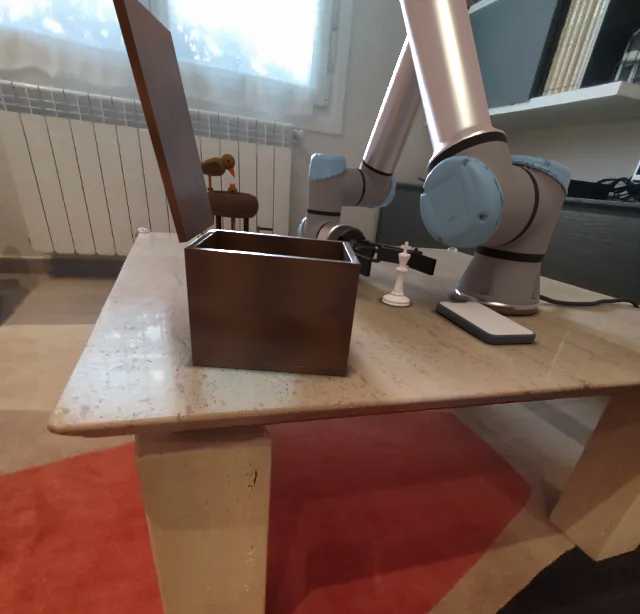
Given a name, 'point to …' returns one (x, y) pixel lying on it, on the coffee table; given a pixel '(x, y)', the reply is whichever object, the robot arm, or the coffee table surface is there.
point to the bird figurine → (229, 196)
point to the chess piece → (399, 281)
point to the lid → (166, 116)
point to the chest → (271, 302)
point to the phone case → (485, 323)
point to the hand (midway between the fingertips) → (402, 267)
